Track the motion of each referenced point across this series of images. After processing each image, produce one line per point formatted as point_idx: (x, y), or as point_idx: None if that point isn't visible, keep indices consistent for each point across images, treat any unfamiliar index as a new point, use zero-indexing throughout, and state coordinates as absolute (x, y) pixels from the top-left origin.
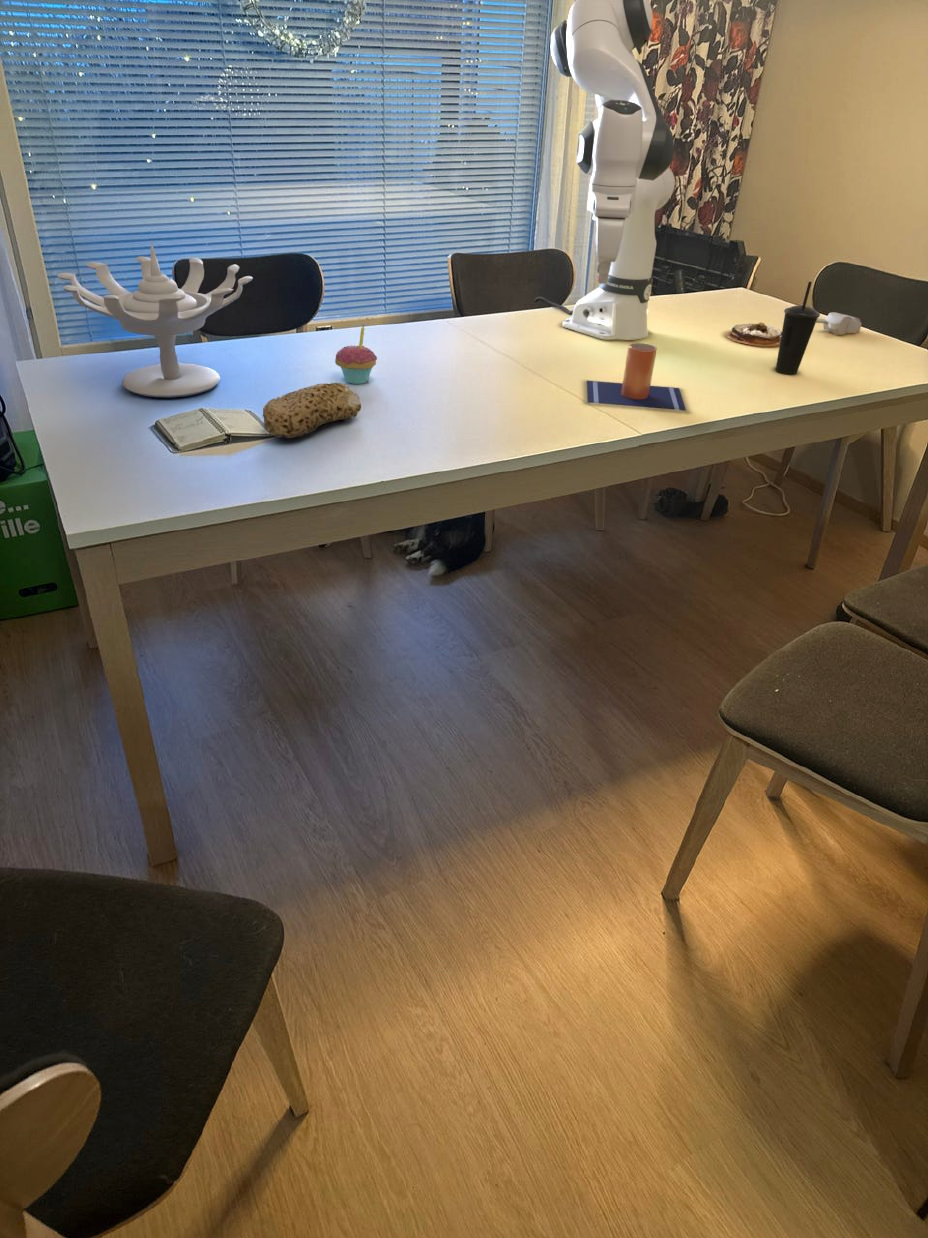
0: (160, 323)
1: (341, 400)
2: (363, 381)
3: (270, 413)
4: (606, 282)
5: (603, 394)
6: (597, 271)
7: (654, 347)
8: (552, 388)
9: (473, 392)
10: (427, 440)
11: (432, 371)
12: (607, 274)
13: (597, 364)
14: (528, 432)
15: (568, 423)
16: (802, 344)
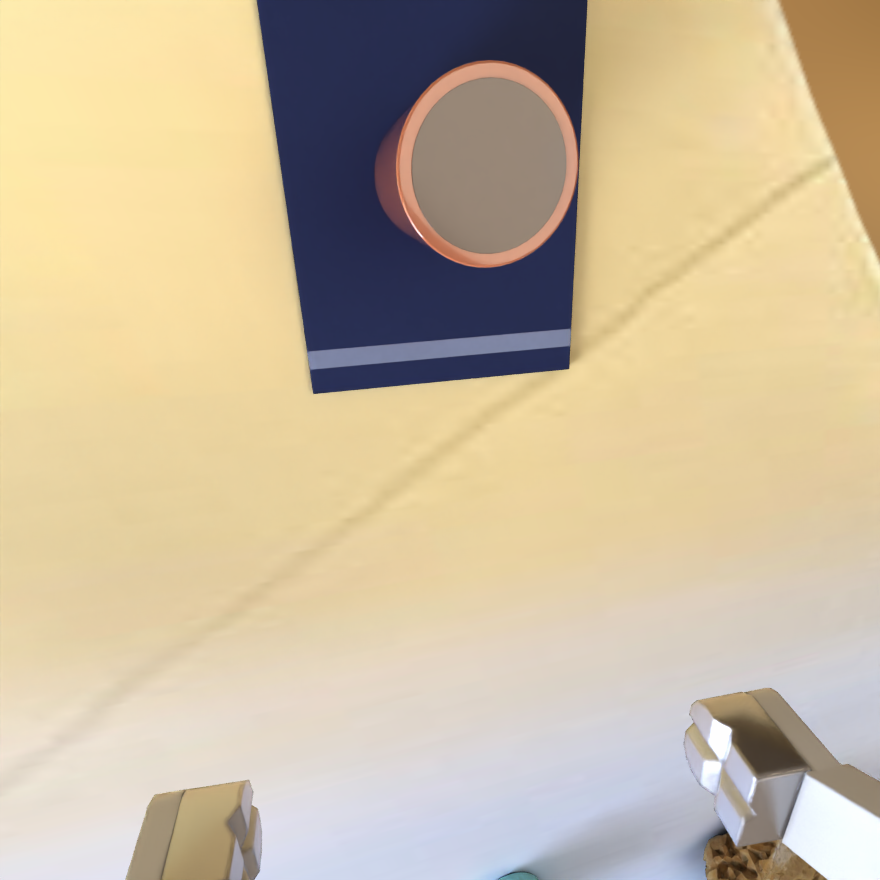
0: None
1: (809, 865)
2: (533, 877)
3: None
4: (772, 693)
5: (468, 315)
6: (260, 852)
7: (482, 79)
8: (432, 497)
9: (533, 681)
10: (850, 675)
11: (388, 803)
12: (833, 766)
13: (15, 364)
14: (812, 500)
15: (745, 408)
16: None
